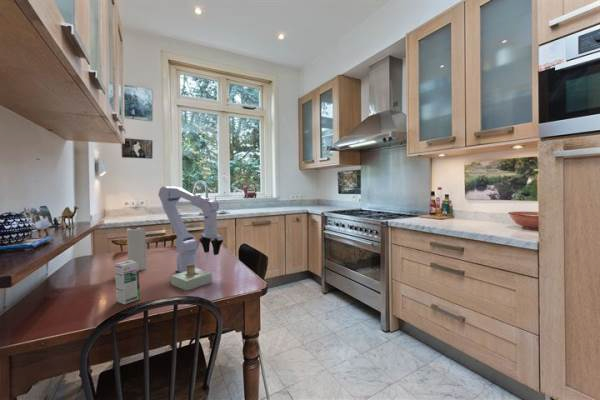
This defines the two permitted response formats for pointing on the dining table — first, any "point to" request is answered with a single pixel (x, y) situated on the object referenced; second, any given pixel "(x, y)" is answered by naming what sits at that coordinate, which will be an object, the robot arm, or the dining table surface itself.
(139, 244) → the tall grey box
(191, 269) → the dowel
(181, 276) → the socket block
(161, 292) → the dining table surface
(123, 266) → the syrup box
